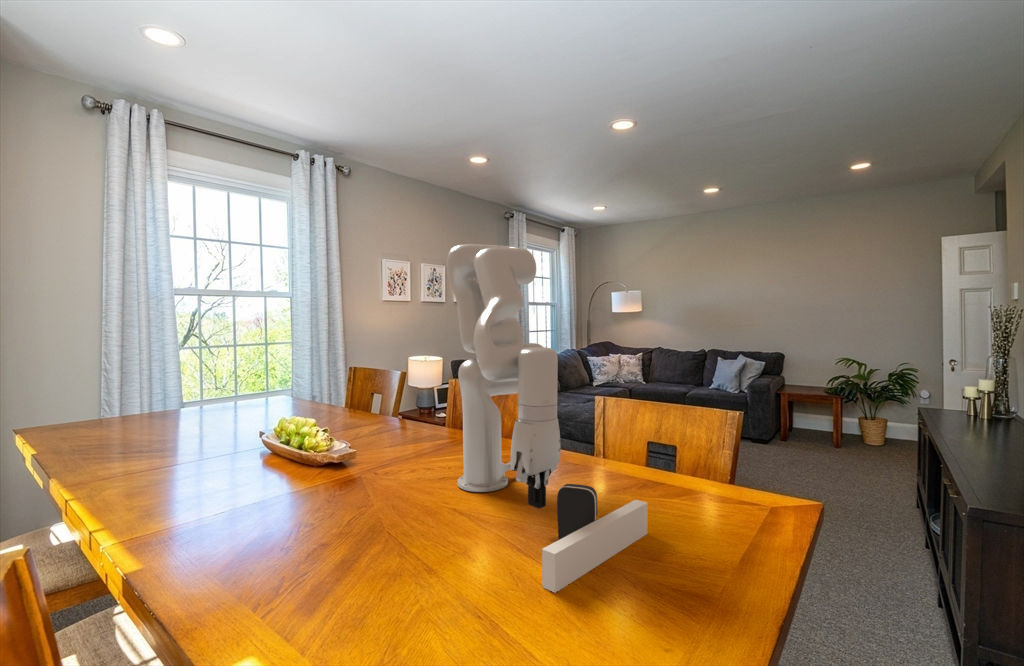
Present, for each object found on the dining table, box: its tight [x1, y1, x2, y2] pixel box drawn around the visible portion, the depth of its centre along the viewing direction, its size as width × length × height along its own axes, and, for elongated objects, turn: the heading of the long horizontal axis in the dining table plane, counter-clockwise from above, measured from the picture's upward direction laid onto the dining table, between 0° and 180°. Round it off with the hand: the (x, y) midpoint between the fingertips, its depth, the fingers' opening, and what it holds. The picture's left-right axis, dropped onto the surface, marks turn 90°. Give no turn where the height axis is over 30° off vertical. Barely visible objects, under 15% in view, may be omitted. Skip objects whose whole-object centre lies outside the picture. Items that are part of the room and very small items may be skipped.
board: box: [541, 499, 649, 594], centre depth 86 cm, size 28×2×6 cm, turn 136°
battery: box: [556, 483, 598, 541], centre depth 90 cm, size 7×4×11 cm, turn 69°
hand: (536, 505), depth 97 cm, fingers closed
